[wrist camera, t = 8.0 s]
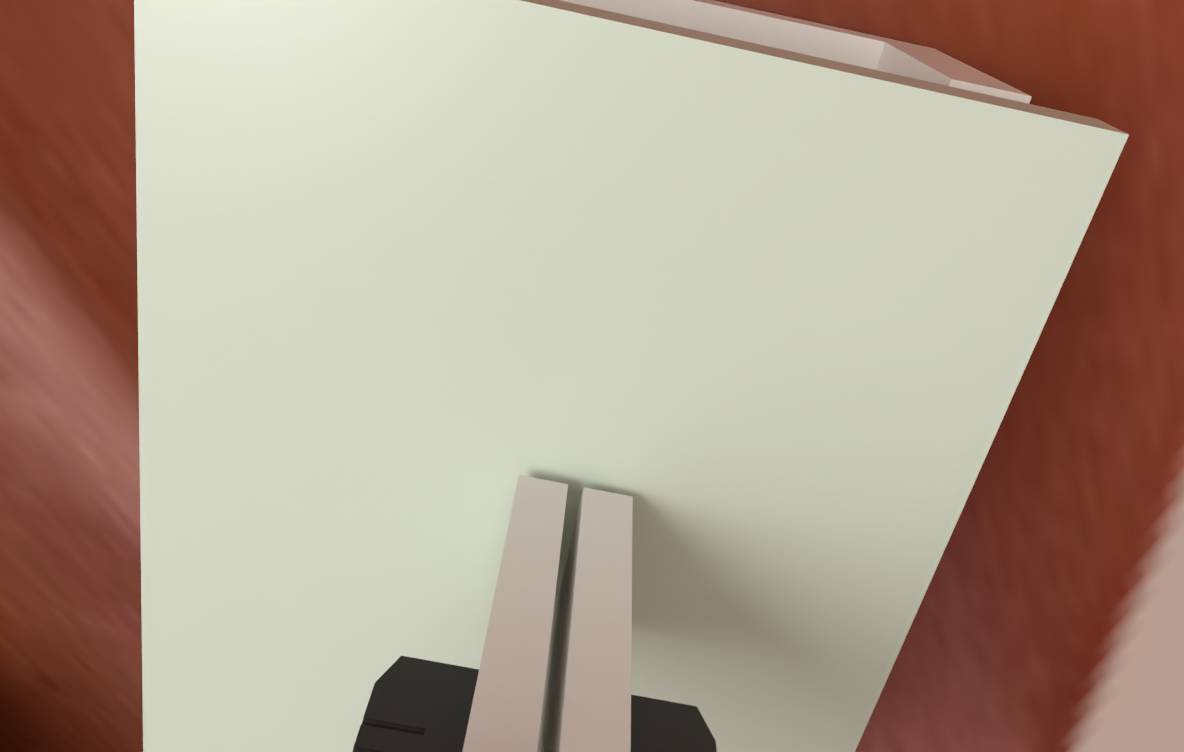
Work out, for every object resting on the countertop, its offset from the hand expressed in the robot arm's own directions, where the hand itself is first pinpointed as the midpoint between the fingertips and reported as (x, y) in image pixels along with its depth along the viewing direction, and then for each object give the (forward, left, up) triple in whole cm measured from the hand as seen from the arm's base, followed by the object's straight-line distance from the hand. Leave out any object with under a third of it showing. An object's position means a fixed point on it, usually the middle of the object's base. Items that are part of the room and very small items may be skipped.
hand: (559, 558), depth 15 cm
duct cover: (0, 0, -1) cm, 1 cm away
